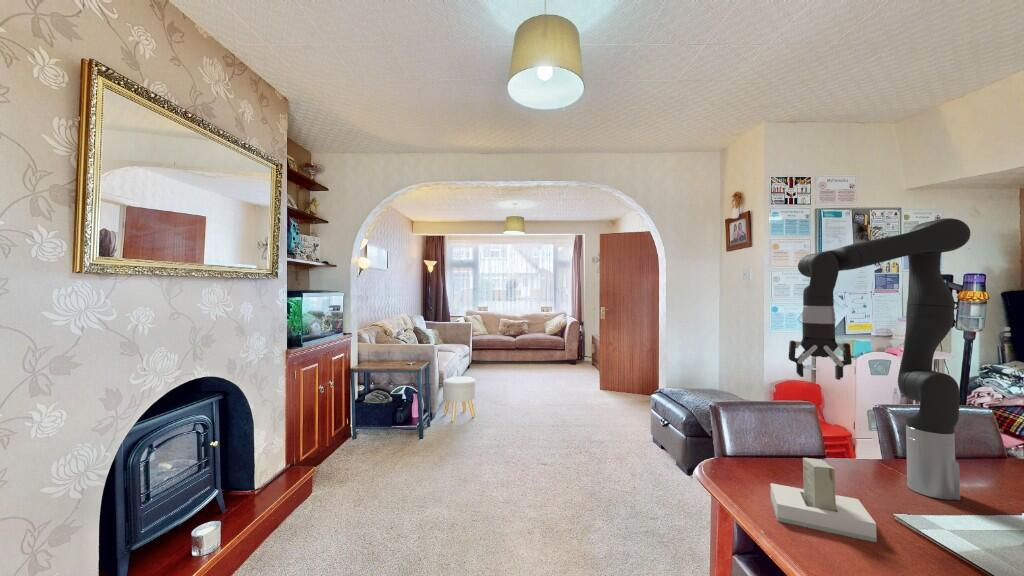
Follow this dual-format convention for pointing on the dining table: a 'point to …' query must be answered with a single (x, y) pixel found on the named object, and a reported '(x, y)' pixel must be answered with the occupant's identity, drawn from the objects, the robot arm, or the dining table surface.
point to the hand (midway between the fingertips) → (819, 377)
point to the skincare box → (819, 484)
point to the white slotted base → (823, 514)
